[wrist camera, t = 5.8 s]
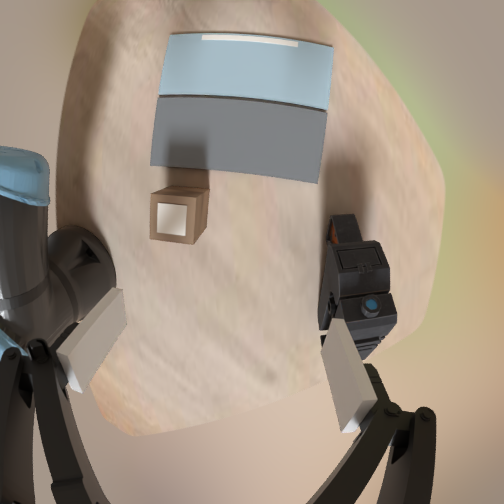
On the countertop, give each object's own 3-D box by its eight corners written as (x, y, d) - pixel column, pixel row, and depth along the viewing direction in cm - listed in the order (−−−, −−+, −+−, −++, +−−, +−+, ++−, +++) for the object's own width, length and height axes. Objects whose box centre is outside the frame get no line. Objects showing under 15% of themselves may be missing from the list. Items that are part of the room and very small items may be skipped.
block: (170, 223, 35) (149, 239, 28) (172, 185, 33) (150, 193, 26) (206, 227, 35) (192, 245, 28) (209, 189, 33) (196, 198, 26)
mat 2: (151, 165, 32) (150, 165, 31) (159, 98, 29) (157, 97, 28) (316, 183, 32) (317, 183, 32) (326, 113, 29) (327, 113, 28)
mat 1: (159, 95, 29) (158, 94, 28) (171, 36, 26) (169, 34, 25) (326, 110, 29) (328, 109, 28) (332, 49, 26) (334, 47, 25)
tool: (365, 201, 30) (410, 315, 20) (343, 288, 44) (360, 372, 35) (316, 204, 30) (346, 326, 20) (308, 292, 45) (320, 378, 35)
